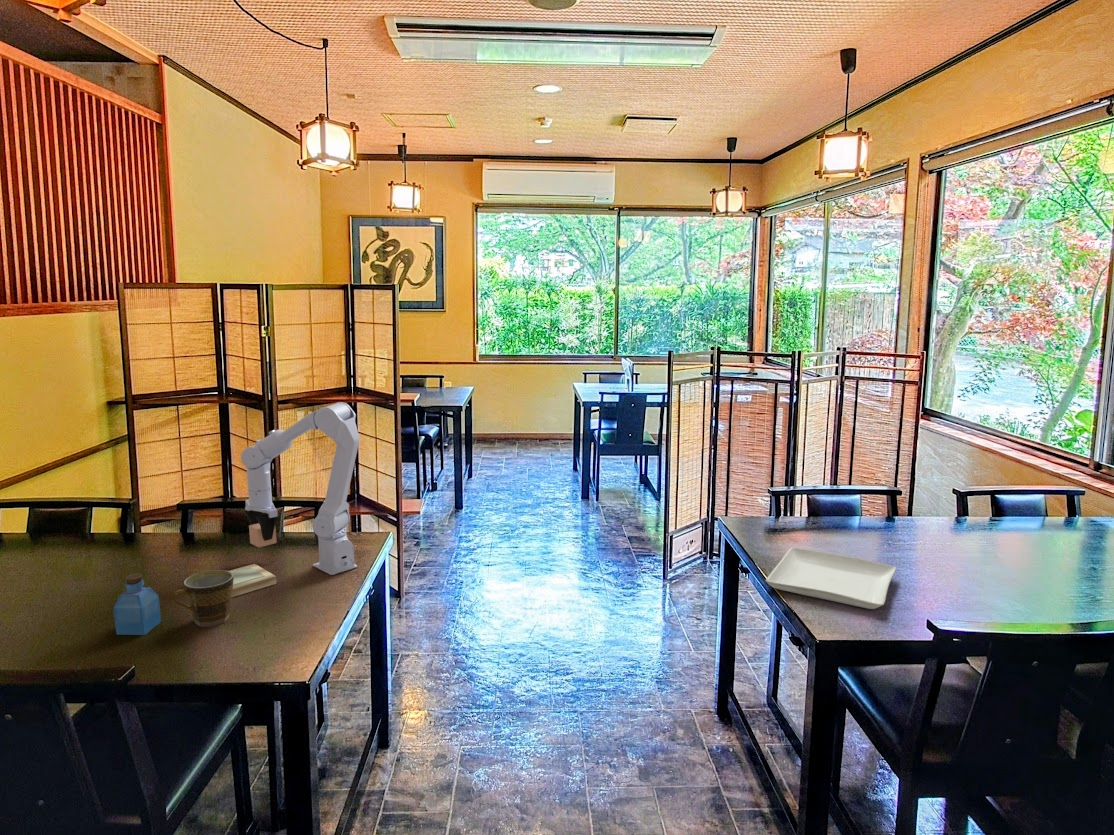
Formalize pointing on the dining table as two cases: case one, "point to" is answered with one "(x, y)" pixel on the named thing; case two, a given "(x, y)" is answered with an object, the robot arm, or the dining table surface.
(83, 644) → the dining table surface
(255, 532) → the terracotta block
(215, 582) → the ceramic cup
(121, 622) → the perfume bottle
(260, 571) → the display base
